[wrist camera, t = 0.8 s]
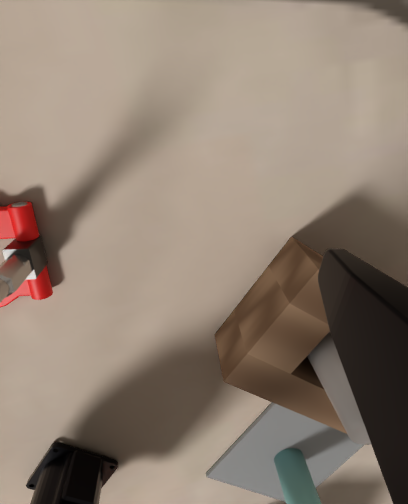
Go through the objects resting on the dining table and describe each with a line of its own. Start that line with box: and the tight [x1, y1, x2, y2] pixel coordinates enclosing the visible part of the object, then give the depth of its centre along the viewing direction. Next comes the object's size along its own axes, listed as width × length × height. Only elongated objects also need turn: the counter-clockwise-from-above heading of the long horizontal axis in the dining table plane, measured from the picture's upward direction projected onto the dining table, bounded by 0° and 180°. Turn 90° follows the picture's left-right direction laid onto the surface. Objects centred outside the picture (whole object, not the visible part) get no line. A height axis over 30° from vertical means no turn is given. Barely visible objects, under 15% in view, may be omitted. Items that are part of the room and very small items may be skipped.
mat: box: [206, 402, 364, 502], centre depth 36 cm, size 12×12×1 cm
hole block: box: [215, 237, 347, 434], centre depth 28 cm, size 10×24×5 cm, turn 57°
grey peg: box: [307, 332, 371, 445], centre depth 24 cm, size 3×3×10 cm
